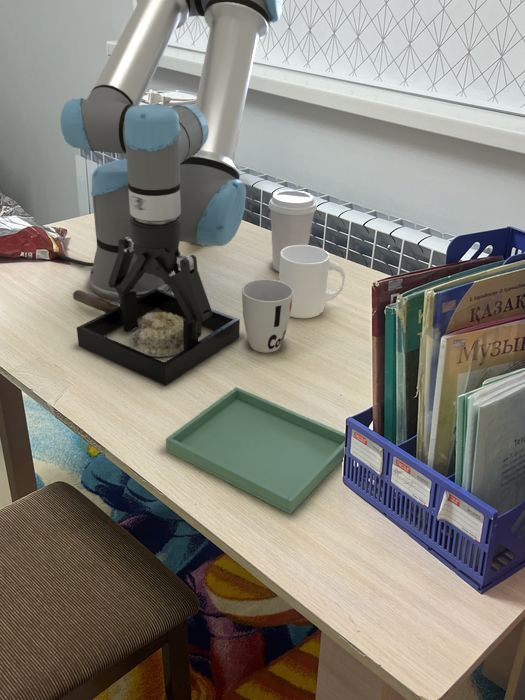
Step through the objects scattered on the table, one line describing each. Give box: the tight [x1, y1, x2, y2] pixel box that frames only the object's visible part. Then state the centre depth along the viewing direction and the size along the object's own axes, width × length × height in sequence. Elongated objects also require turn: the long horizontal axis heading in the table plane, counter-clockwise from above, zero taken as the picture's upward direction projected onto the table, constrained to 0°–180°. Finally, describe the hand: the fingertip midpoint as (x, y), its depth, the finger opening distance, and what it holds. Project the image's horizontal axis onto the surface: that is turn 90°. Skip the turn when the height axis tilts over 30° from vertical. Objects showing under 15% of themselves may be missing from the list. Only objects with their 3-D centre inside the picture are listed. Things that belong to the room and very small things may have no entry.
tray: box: [165, 386, 346, 515], centre depth 90 cm, size 19×15×2 cm
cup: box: [241, 278, 293, 353], centre depth 112 cm, size 8×8×10 cm
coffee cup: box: [267, 189, 318, 273], centre depth 138 cm, size 10×10×15 cm
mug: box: [278, 244, 346, 319], centre depth 124 cm, size 9×12×11 cm
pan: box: [72, 288, 241, 386], centre depth 115 cm, size 29×19×4 cm, turn 56°
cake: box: [129, 311, 185, 358], centre depth 113 cm, size 10×10×5 cm
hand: (160, 341), depth 114 cm, fingers open, 12 cm apart
